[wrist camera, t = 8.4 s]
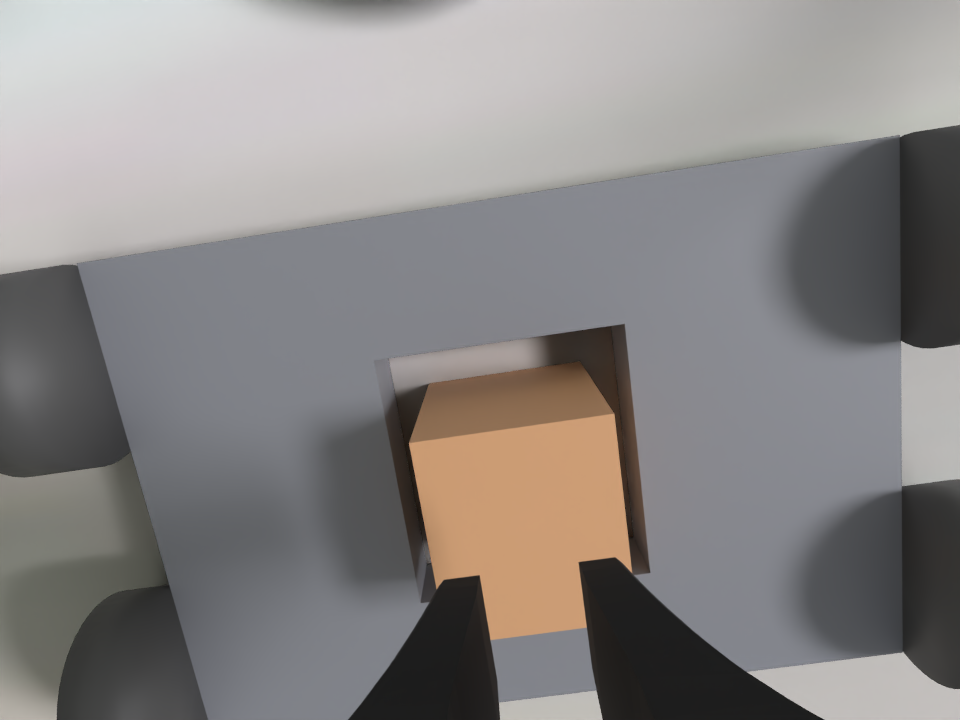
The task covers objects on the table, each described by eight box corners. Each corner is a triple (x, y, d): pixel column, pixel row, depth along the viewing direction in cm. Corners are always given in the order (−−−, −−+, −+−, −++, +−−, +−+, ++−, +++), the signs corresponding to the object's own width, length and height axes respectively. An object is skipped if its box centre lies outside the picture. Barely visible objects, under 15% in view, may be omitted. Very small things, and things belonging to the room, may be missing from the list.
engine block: (599, 518, 19) (637, 621, 14) (456, 538, 19) (447, 645, 15) (579, 361, 18) (614, 413, 13) (429, 383, 18) (408, 442, 13)
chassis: (919, 601, 20) (1063, 728, 15) (185, 695, 21) (92, 843, 16) (920, 133, 17) (1100, 99, 12) (60, 268, 18) (-103, 287, 13)
